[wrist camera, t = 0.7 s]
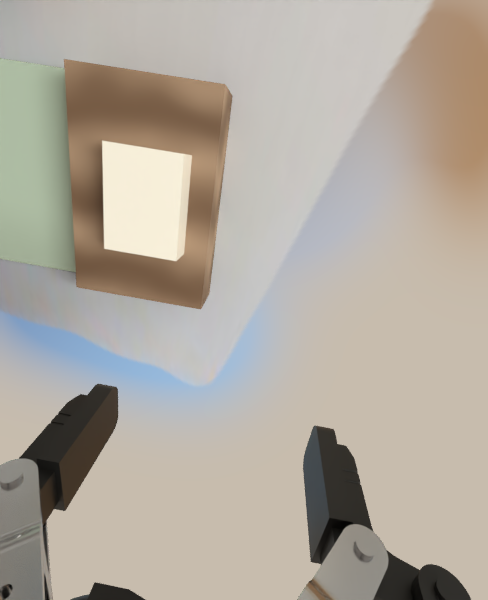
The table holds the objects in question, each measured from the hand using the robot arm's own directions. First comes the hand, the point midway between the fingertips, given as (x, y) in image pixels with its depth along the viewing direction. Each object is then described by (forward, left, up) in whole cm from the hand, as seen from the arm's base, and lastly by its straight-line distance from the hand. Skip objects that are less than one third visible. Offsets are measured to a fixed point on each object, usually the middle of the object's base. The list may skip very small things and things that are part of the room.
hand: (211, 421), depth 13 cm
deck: (-6, -10, -21) cm, 24 cm away
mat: (-6, -21, -21) cm, 31 cm away
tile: (-6, -9, -17) cm, 20 cm away
